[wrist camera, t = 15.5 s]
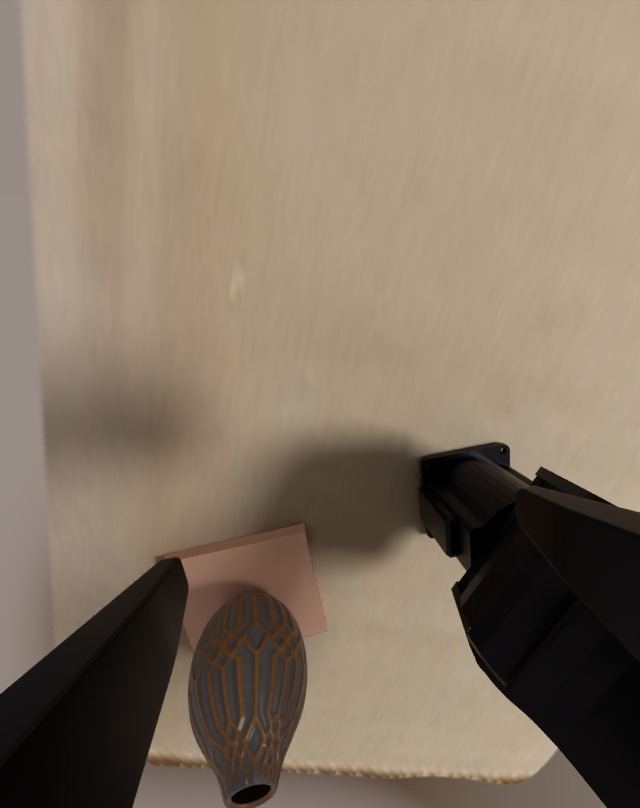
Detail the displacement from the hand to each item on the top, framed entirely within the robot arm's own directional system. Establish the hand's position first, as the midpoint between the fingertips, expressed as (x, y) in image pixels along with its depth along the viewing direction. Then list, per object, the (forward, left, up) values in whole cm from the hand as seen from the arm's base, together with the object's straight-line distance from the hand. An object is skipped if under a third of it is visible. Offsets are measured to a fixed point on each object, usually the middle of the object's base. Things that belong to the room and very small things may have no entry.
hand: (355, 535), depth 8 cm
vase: (+7, +13, -12) cm, 19 cm away
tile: (+7, +8, -13) cm, 17 cm away
